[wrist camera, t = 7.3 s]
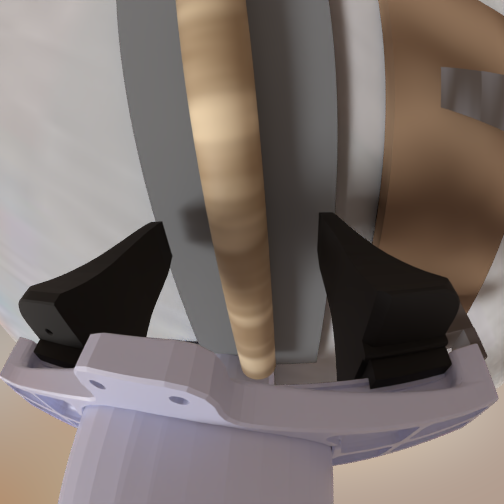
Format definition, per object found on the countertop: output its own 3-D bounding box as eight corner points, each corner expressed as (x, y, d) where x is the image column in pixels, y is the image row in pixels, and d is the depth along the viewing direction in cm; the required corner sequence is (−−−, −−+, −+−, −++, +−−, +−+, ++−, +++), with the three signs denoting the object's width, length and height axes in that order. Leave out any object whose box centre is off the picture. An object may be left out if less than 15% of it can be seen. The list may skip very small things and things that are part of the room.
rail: (277, 352, 19) (273, 380, 17) (244, 350, 20) (238, 377, 18) (248, -12, 7) (235, -32, 5) (188, 0, 7) (163, -15, 5)
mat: (315, 356, 21) (316, 362, 20) (207, 357, 22) (206, 363, 21) (318, -40, 6) (320, -44, 5) (121, -8, 7) (115, -11, 6)
